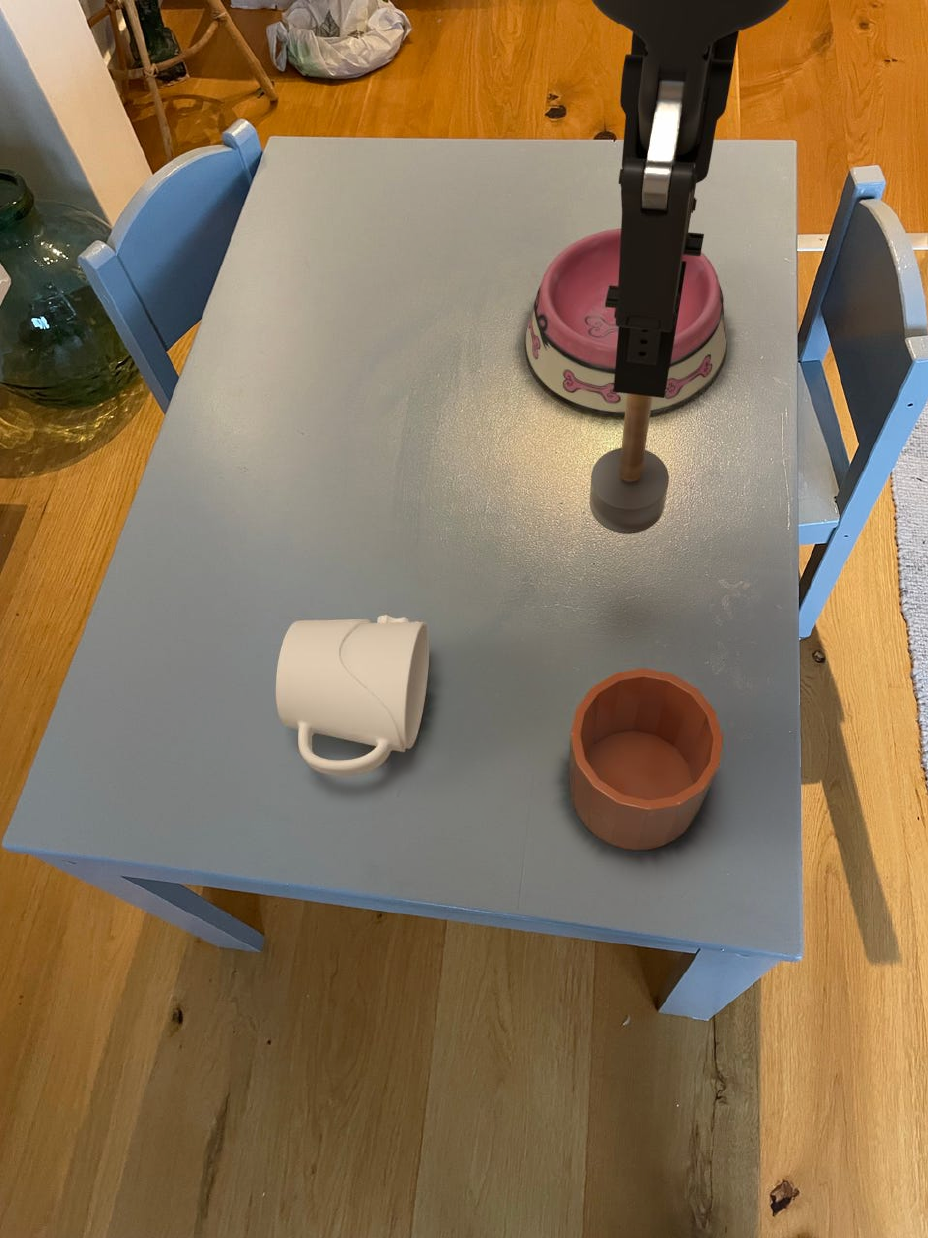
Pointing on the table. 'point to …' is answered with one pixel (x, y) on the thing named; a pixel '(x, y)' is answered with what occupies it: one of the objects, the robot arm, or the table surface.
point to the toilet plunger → (630, 477)
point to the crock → (642, 757)
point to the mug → (353, 686)
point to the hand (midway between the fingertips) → (642, 374)
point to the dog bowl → (587, 334)
